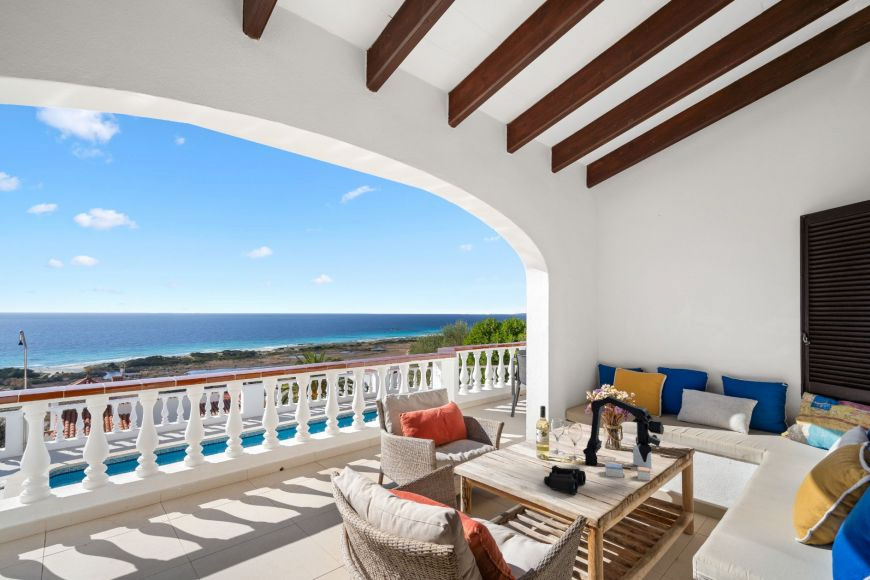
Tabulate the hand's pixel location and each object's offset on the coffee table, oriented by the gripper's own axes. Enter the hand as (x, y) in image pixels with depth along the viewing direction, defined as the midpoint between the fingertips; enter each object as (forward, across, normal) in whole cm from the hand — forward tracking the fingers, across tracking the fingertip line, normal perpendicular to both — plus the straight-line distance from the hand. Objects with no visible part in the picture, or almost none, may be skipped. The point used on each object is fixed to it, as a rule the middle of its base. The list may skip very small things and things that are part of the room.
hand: (643, 459), depth 228 cm
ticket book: (+10, 0, +16) cm, 19 cm away
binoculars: (+11, -25, +41) cm, 49 cm away
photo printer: (+10, +19, -1) cm, 22 cm away
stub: (+10, 0, 0) cm, 10 cm away
